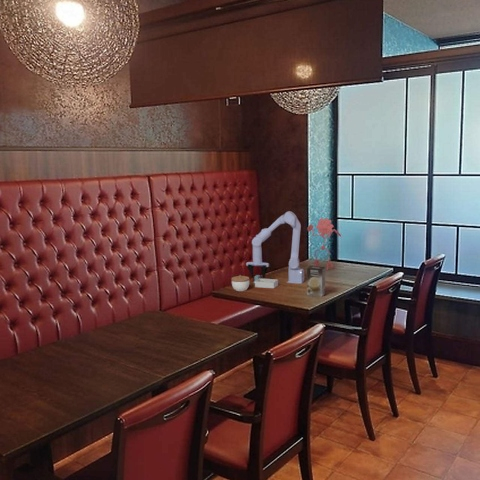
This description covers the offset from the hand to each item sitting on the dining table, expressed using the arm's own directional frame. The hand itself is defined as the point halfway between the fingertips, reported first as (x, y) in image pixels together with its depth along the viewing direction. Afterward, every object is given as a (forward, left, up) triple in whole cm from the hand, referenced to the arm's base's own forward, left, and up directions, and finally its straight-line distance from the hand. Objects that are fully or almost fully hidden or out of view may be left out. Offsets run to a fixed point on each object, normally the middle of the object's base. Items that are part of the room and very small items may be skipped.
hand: (258, 277), depth 331 cm
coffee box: (-42, +18, -3) cm, 46 cm away
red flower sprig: (-31, -50, -3) cm, 59 cm away
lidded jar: (+3, +22, -3) cm, 22 cm away
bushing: (-6, +10, -3) cm, 12 cm away
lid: (-5, 0, -4) cm, 6 cm away
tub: (-9, +10, -3) cm, 14 cm away
